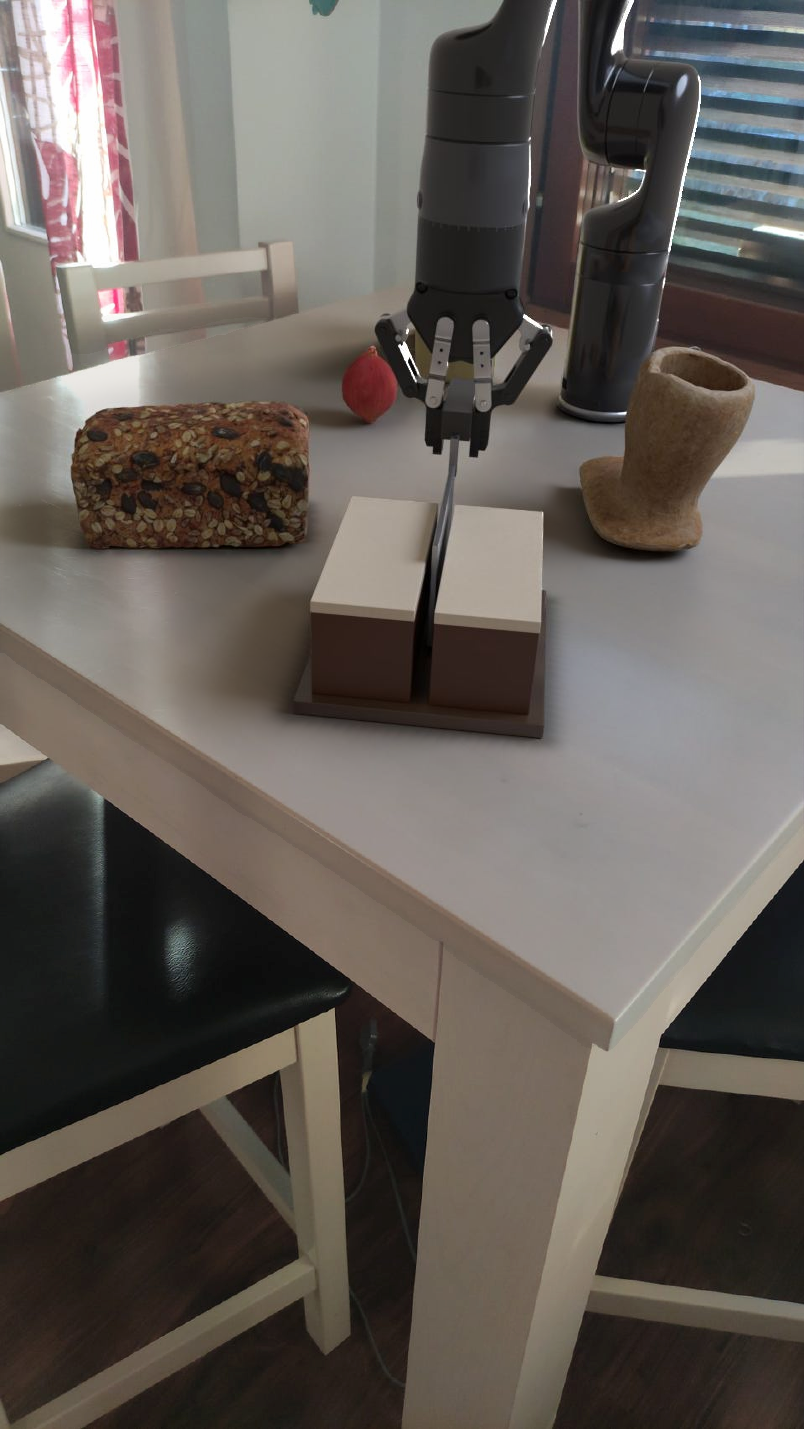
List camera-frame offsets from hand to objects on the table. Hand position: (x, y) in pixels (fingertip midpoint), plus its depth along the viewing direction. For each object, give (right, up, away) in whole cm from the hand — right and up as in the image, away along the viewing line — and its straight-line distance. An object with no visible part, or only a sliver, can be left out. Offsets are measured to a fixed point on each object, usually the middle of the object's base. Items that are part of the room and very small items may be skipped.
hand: (455, 451), depth 82 cm
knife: (-1, -9, -1) cm, 9 cm away
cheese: (0, +24, +50) cm, 55 cm away
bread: (-21, -5, +8) cm, 23 cm away
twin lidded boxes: (-2, -16, -8) cm, 18 cm away
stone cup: (+18, -4, +11) cm, 21 cm away
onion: (-8, +10, +29) cm, 32 cm away
